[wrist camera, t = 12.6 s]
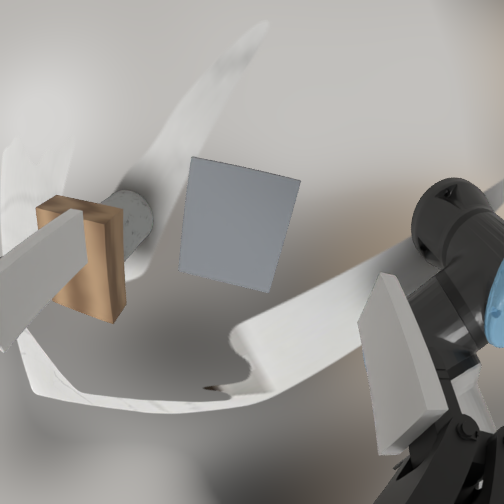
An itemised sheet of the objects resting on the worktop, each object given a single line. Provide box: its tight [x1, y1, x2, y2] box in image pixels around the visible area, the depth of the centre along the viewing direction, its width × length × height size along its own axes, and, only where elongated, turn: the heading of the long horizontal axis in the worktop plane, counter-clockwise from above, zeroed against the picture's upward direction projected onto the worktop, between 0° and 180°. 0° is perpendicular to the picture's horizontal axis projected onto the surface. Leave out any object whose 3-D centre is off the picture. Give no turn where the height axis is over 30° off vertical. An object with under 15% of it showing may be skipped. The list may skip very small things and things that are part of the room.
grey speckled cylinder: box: [100, 190, 153, 262], centre depth 43 cm, size 10×10×12 cm
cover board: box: [36, 195, 126, 324], centre depth 35 cm, size 11×15×4 cm
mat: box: [178, 157, 301, 293], centre depth 47 cm, size 16×20×1 cm
